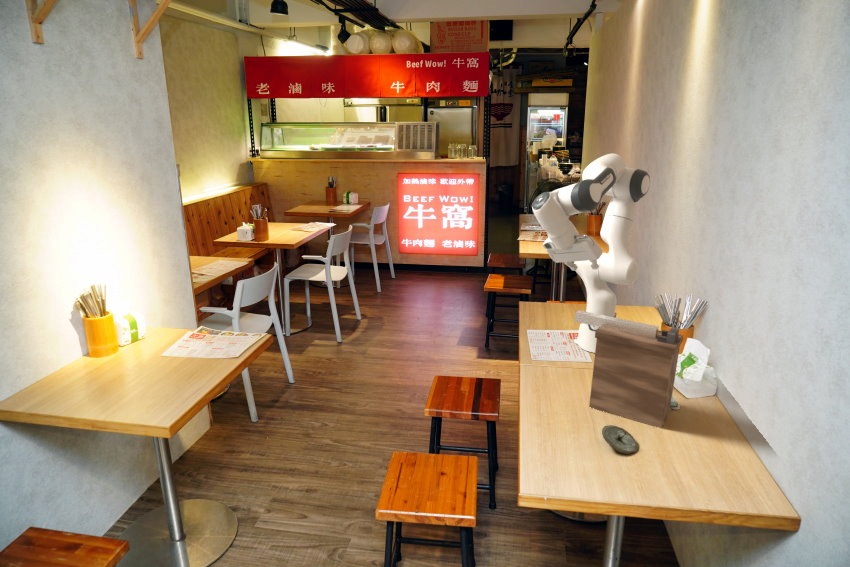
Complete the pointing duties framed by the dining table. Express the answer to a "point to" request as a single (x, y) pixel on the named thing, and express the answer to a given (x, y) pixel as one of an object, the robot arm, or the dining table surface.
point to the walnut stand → (635, 374)
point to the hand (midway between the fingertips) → (585, 268)
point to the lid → (619, 439)
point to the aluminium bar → (616, 324)
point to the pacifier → (673, 403)
